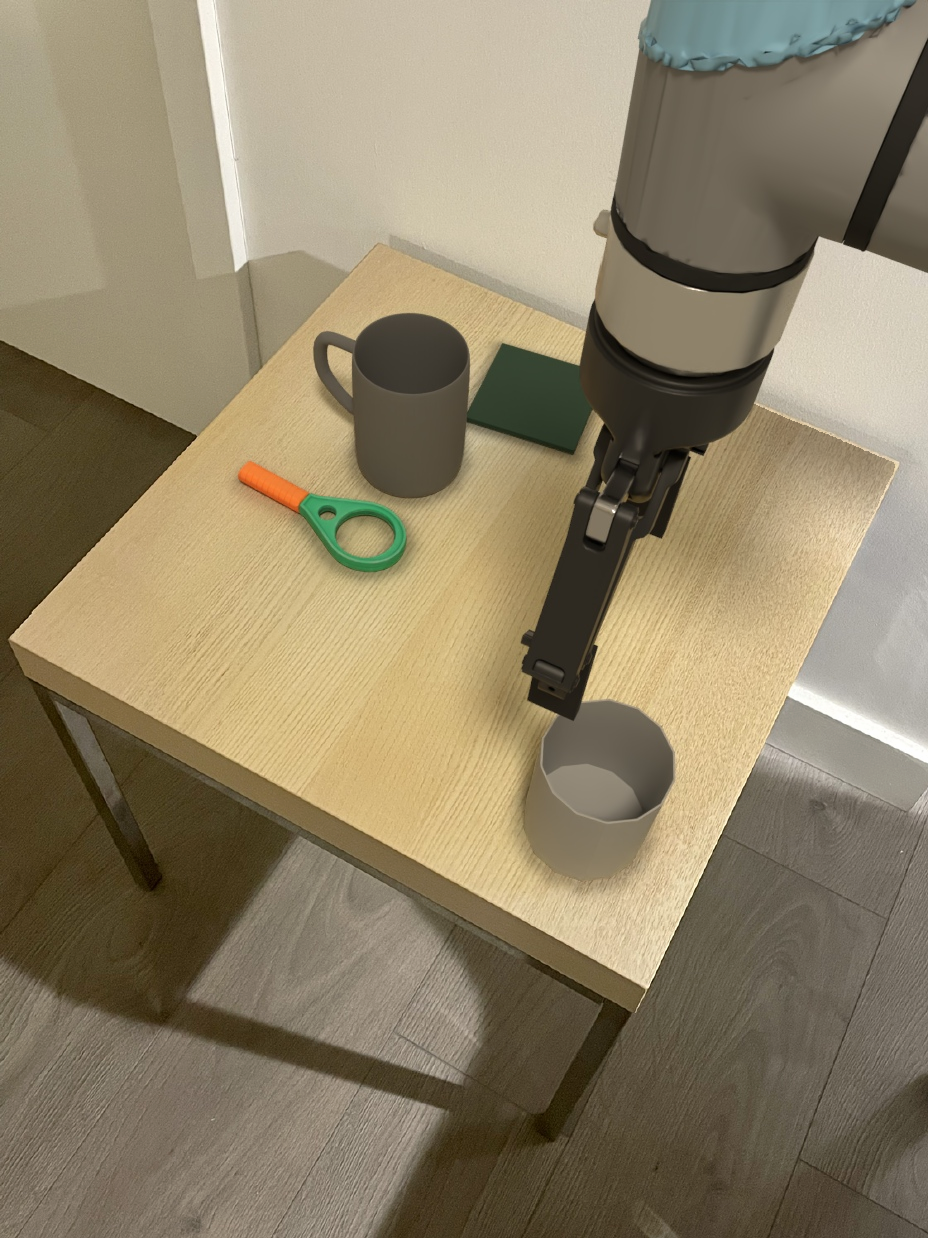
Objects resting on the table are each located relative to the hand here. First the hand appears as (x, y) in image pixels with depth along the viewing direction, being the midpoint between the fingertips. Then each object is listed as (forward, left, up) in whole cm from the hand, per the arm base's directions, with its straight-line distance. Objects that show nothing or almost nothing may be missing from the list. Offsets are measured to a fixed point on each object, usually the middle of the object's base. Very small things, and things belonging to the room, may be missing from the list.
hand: (600, 611), depth 60 cm
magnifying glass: (+24, -13, -19) cm, 34 cm away
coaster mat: (+12, -33, -19) cm, 40 cm away
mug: (+22, -22, -19) cm, 37 cm away
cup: (-3, +4, -19) cm, 20 cm away
